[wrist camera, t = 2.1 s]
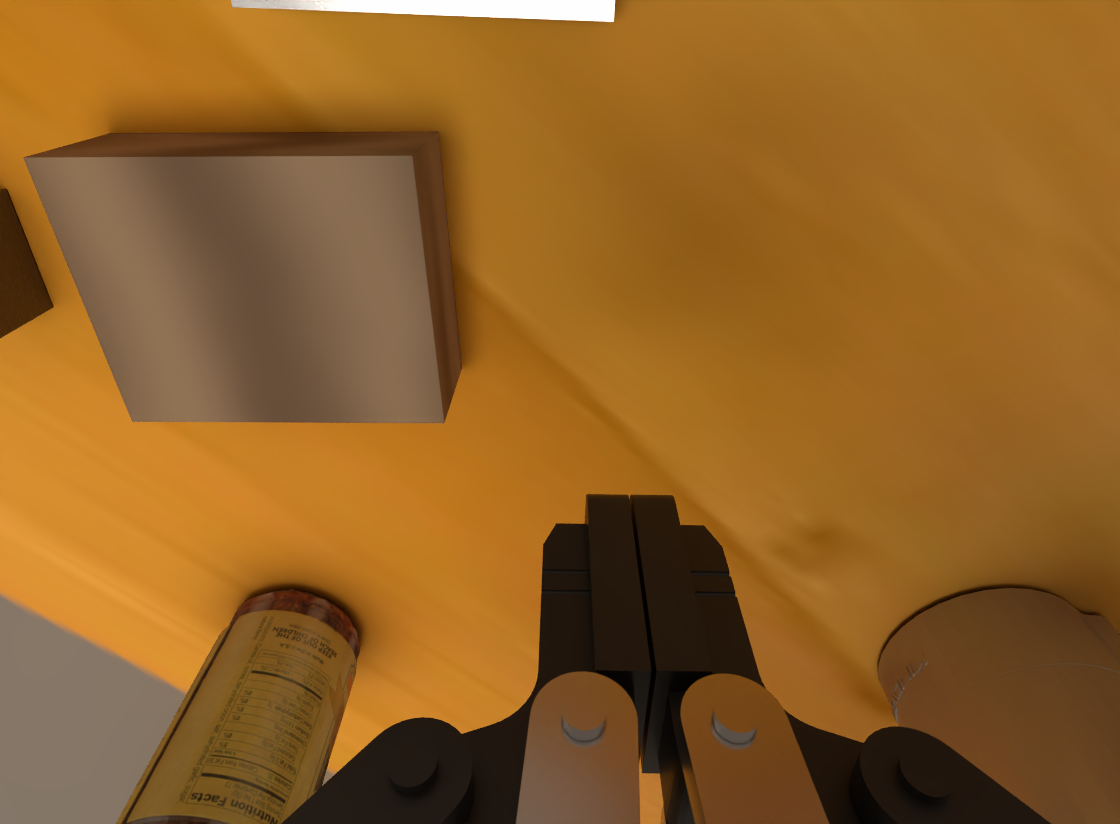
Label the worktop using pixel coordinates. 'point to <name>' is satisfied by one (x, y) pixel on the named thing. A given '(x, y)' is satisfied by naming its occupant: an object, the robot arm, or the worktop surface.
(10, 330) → the block
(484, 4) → the holder
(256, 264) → the brown rectangular block
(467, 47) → the worktop surface
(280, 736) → the sauce bottle
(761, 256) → the worktop surface
